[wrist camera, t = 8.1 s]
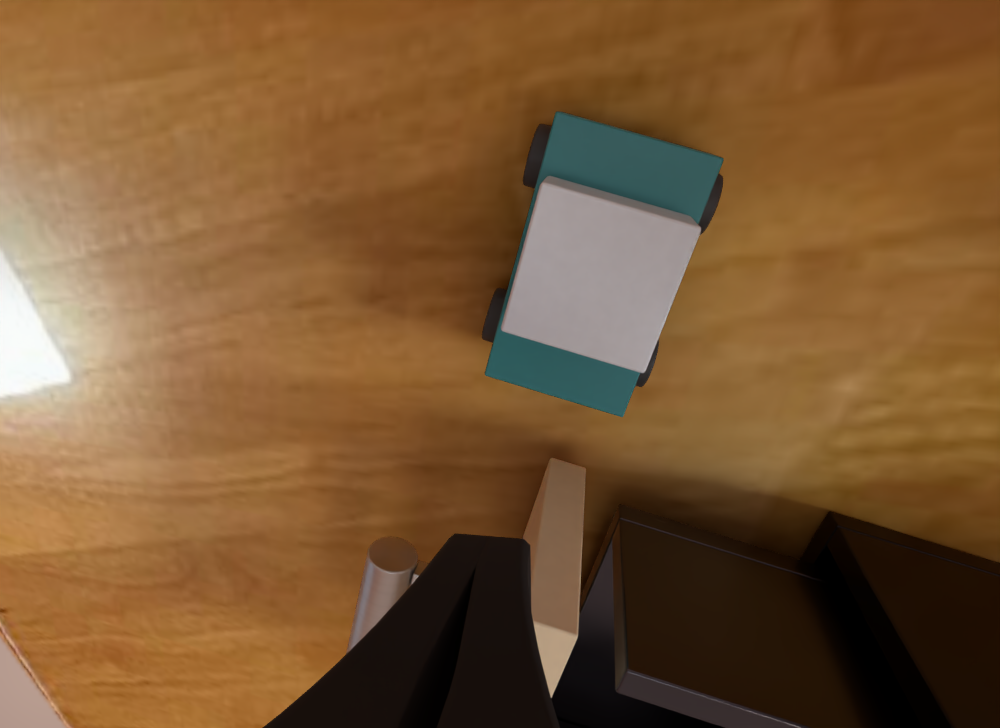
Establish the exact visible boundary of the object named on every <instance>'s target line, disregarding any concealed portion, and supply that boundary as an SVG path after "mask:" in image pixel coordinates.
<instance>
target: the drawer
mask: <svg viewBox="0 0 1000 728" xmlns="http://www.w3.org/2000/svg"><path fill="white" fill-rule="evenodd" d="M585 481H586V468H584V467H581V466H578V465H574V464H571V463H568V462H565V461H561V460H558V459H555V458H550V460H549V463H548V466H547V469H546V472H545V474H544V477H543V480H542V483H541V486H540V489H539V492H538V495H537V498H536V501H535V503H534V506H533V509H532V512H531V515H530V518H529V521H528V524H527V527H526V530H525V532H524V535H523V538H522V539H525V540H526V541H527V542H528V543H529V544H530V549H531V612H532V618H533V623H534V628H535V634H536V639H537V644H538V649H539V653H540V657H541V662H542V666H543V670H544V674H545V677H546V681H547V685H548V689H549V693H550V696H551V700H552V703H553V707H554V710H555V713H556V716H557V720H558V723H559V726H560V728H922V727H921V725H920V723H919V721H918V719H917V717H916V715H915V713H914V711H913V710H912V708H911V706H910V704H909V702H908V700H907V698H906V696H905V694H904V692H903V690H902V688H901V687H900V685H899V683H898V681H897V679H896V677H895V675H894V673H893V671H892V669H891V667H890V666H889V664H888V662H887V660H886V658H885V656H884V654H883V652H882V650H881V648H880V646H879V645H878V643H877V641H876V639H875V637H874V635H873V633H872V631H871V629H870V627H869V625H868V623H867V622H866V620H865V618H864V616H863V614H862V612H861V610H860V608H859V606H858V604H857V602H856V601H855V599H854V597H853V595H852V593H851V591H850V589H849V587H848V585H847V583H846V581H845V579H844V578H843V576H842V574H841V572H838V571H835V570H831V569H828V568H825V567H822V566H818V565H815V564H812V563H809V562H806V561H802V560H799V559H796V558H793V557H790V556H786V555H783V554H780V553H777V552H773V551H770V550H767V549H764V548H761V547H757V546H754V545H751V544H748V543H744V542H741V541H738V540H735V539H732V538H728V537H725V536H722V535H719V534H716V533H712V532H709V531H706V530H703V529H699V528H696V527H693V526H690V525H687V524H683V523H680V522H677V521H674V520H671V519H667V518H664V517H661V516H658V515H654V514H651V513H648V512H645V511H642V510H638V509H635V508H632V507H629V506H626V505H622V504H620V505H619V506H618V508H617V510H616V513H615V515H614V518H613V520H612V522H611V525H610V527H609V529H608V532H607V534H606V537H605V539H604V541H603V544H602V546H601V549H600V551H599V553H598V556H597V558H596V561H595V563H594V565H593V568H592V570H591V572H590V575H589V577H588V580H587V582H586V584H585V587H584V589H583V592H582V594H581V596H580V585H581V564H582V544H583V523H584V502H585ZM417 560H418V555H417V552H416V549H415V548H414V547H413V545H412V544H410V543H409V542H408V541H406V540H404V539H401V538H398V537H384V538H380V539H378V540H376V541H375V542H373V543H372V544H371V545H370V547H369V549H368V553H367V558H366V562H365V567H364V572H363V577H362V581H361V586H360V591H359V596H358V601H357V605H356V610H355V615H354V620H353V624H352V629H351V634H350V639H349V644H348V648H347V653H348V652H349V651H350V650H351V649H352V648H353V647H354V646H355V645H356V644H357V643H358V642H359V641H360V640H361V639H362V638H363V637H364V636H365V635H366V634H367V633H368V632H369V631H370V630H371V629H372V628H373V627H374V626H375V625H376V624H377V623H378V622H379V620H380V619H381V618H382V617H383V616H384V615H385V614H386V613H387V612H388V611H389V609H390V608H391V607H392V606H393V605H394V604H395V603H396V602H397V600H398V599H399V598H400V597H401V596H402V595H403V594H404V593H405V592H406V590H407V589H408V588H409V587H410V586H411V585H412V583H413V582H414V581H415V580H416V579H417V578H418V576H419V575H420V574H421V573H422V572H423V570H424V569H425V568H426V567H427V566H428V564H429V563H426V562H423V561H418V563H417ZM416 564H417V565H416ZM347 653H346V654H347Z"/></svg>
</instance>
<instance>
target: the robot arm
mask: <svg viewBox="0 0 1000 728" xmlns="http://www.w3.org/2000/svg"><path fill="white" fill-rule="evenodd" d="M263 728H560V726H559V723H558V720H557V716H556V713H555V710H554V707H553V703H552V700H551V696H550V693H549V689H548V685H547V681H546V677H545V674H544V670H543V666H542V662H541V657H540V653H539V649H538V644H537V639H536V634H535V628H534V623H533V618H532V612H531V549H530V544H529V543H528V542H527V541H526V540H525V539H518V538H505V537H492V536H480V535H467V534H454V535H453V536H451V537H450V538H449V539H448V540H447V542H446V543H445V544H444V545H443V547H442V548H441V549H440V551H439V552H438V553H437V554H436V556H435V557H434V558H433V559H432V561H431V562H430V563H429V564H428V566H427V567H426V568H425V569H424V570H423V572H422V573H421V574H420V575H419V576H418V578H417V579H416V580H415V581H414V582H413V583H412V585H411V586H410V587H409V588H408V589H407V590H406V592H405V593H404V594H403V595H402V596H401V597H400V598H399V599H398V600H397V602H396V603H395V604H394V605H393V606H392V607H391V608H390V609H389V611H388V612H387V613H386V614H385V615H384V616H383V617H382V618H381V619H380V620H379V622H378V623H377V624H376V625H375V626H374V627H373V628H372V629H371V630H370V631H369V632H368V633H367V634H366V635H365V636H364V637H363V638H362V639H361V640H360V641H359V642H358V643H357V644H356V645H355V646H354V647H353V648H352V649H351V650H350V651H349V652H348V653H347V654H346V655H345V656H344V657H343V658H342V659H341V660H340V661H339V662H338V663H337V664H336V665H335V666H334V667H333V668H332V669H331V670H329V671H328V672H327V673H326V674H325V675H324V676H323V677H322V678H321V679H320V680H319V681H318V682H316V683H315V684H314V685H313V686H312V687H311V688H310V689H309V690H307V691H306V692H305V693H304V694H303V695H302V696H301V697H299V698H298V699H297V700H296V701H295V702H294V703H292V704H291V705H290V706H289V707H288V708H287V709H285V710H284V711H283V712H282V713H281V714H279V715H278V716H277V717H276V718H274V719H273V720H272V721H271V722H269V723H268V724H267V725H266V726H264V727H263Z"/></svg>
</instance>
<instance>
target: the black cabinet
mask: <svg viewBox="0 0 1000 728" xmlns="http://www.w3.org/2000/svg"><path fill="white" fill-rule="evenodd" d="M800 560H802V561H806V562H809V563H812V564H815V565H818V566H822V567H825V568H828V569H831V570H835V571H838V572H841V574H842V576H843V578H844V579H845V581H846V583H847V585H848V587H849V589H850V591H851V593H852V595H853V597H854V599H855V601H856V602H857V604H858V606H859V608H860V610H861V612H862V614H863V616H864V618H865V620H866V622H867V623H868V625H869V627H870V629H871V631H872V633H873V635H874V637H875V639H876V641H877V643H878V645H879V646H880V648H881V650H882V652H883V654H884V656H885V658H886V660H887V662H888V664H889V666H890V667H891V669H892V671H893V673H894V675H895V677H896V679H897V681H898V683H899V685H900V687H901V688H902V690H903V692H904V694H905V696H906V698H907V700H908V702H909V704H910V706H911V708H912V710H913V711H914V713H915V715H916V717H917V719H918V721H919V723H920V725H921V727H922V728H1000V563H997V562H994V561H990V560H987V559H984V558H981V557H977V556H974V555H971V554H968V553H964V552H961V551H958V550H954V549H951V548H948V547H945V546H941V545H938V544H935V543H932V542H928V541H925V540H922V539H919V538H915V537H912V536H909V535H906V534H902V533H899V532H896V531H892V530H889V529H886V528H883V527H879V526H876V525H873V524H870V523H866V522H863V521H860V520H857V519H853V518H850V517H847V516H844V515H840V514H837V513H834V512H831V511H829V512H828V514H827V515H826V517H825V519H824V520H823V522H822V524H821V525H820V527H819V529H818V530H817V532H816V534H815V535H814V537H813V539H812V540H811V542H810V544H809V545H808V547H807V548H806V550H805V552H804V553H803V555H802V557H801V558H800Z"/></svg>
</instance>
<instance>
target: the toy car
mask: <svg viewBox="0 0 1000 728" xmlns="http://www.w3.org/2000/svg"><path fill="white" fill-rule="evenodd" d="M722 163H723V158H722V157H719V156H716V155H713V154H710V153H706V152H703V151H699V150H696V149H692V148H689V147H685V146H682V145H678V144H675V143H671V142H667V141H664V140H660V139H657V138H653V137H650V136H646V135H643V134H639V133H635V132H632V131H628V130H625V129H621V128H618V127H614V126H611V125H607V124H603V123H600V122H596V121H593V120H589V119H586V118H582V117H579V116H575V115H572V114H568V113H564V112H556V113H555V116H554V120H553V124H552V126H548V125H545V124H539V126H538V127H537V129H536V132H535V134H534V137H533V140H532V144H531V147H530V151H529V154H528V158H527V162H526V166H525V171H524V177H523V184H524V185H525V186H528V187H532V188H535V190H534V194H533V197H532V201H531V205H530V208H529V212H528V216H527V219H526V223H525V227H524V230H523V234H522V238H521V241H520V245H519V249H518V253H517V256H516V260H515V264H514V267H513V271H512V275H511V278H510V282H509V286H508V289H507V290H505V289H501V288H497V289H496V291H495V292H494V295H493V297H492V300H491V303H490V306H489V309H488V312H487V316H486V319H485V323H484V327H483V332H482V339H484V340H486V341H489V342H492V343H493V345H492V348H491V352H490V356H489V359H488V363H487V367H486V371H485V375H486V376H489V377H492V378H495V379H499V380H502V381H505V382H508V383H512V384H515V385H518V386H522V387H525V388H528V389H531V390H535V391H538V392H541V393H545V394H548V395H551V396H554V397H558V398H561V399H564V400H568V401H571V402H574V403H577V404H581V405H584V406H587V407H591V408H594V409H597V410H600V411H604V412H607V413H610V414H614V415H617V416H620V417H623V416H624V413H625V410H626V408H627V405H628V403H629V400H630V398H631V395H632V393H633V390H634V387H635V386H638V387H642V386H643V385H644V384H645V383H646V381H647V380H648V378H649V376H650V373H651V371H652V368H653V366H654V363H655V359H656V356H657V351H658V346H659V336H660V334H661V331H662V328H663V326H664V323H665V321H666V318H667V316H668V313H669V311H670V308H671V306H672V303H673V301H674V298H675V296H676V293H677V291H678V288H679V286H680V283H681V280H682V278H683V275H684V273H685V270H686V268H687V265H688V263H689V260H690V258H691V255H692V253H693V250H694V248H695V245H696V243H697V240H698V238H699V235H701V234H702V233H703V232H704V231H705V229H706V228H707V227H708V225H709V223H710V221H711V219H712V217H713V215H714V213H715V210H716V208H717V205H718V202H719V199H720V196H721V192H722V187H723V176H722V175H720V174H718V173H719V171H720V168H721V166H722Z"/></svg>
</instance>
